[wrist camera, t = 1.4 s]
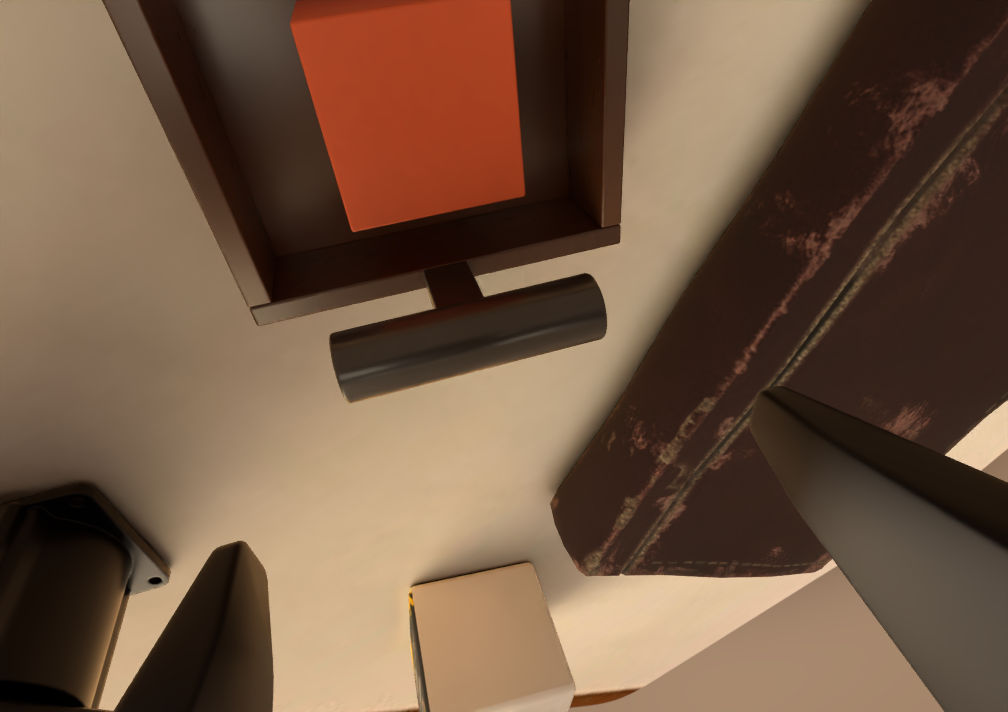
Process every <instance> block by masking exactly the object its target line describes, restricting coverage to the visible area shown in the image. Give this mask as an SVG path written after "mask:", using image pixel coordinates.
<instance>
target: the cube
mask: <svg viewBox="0 0 1008 712" xmlns="http://www.w3.org/2000/svg"><path fill="white" fill-rule="evenodd" d="M290 27H291V30H292V34H293V37H294V40H295V44H296V47H297V50H298V54H299V57H300V60H301V64H302V67H303V70H304V74H305V77H306V80H307V84H308V87H309V90H310V94H311V97H312V100H313V104H314V107H315V110H316V114H317V117H318V120H319V124H320V127H321V130H322V134H323V137H324V140H325V144H326V147H327V150H328V154H329V157H330V160H331V164H332V167H333V170H334V174H335V177H336V181H337V184H338V187H339V191H340V194H341V197H342V201H343V204H344V207H345V211H346V214H347V217H348V221H349V224H350V227H351V230H352V231H353V232H356V231H361V230H366V229H370V228H375V227H380V226H385V225H389V224H394V223H399V222H404V221H408V220H413V219H418V218H423V217H427V216H432V215H437V214H442V213H446V212H451V211H456V210H461V209H466V208H470V207H475V206H480V205H485V204H489V203H494V202H499V201H504V200H508V199H513V198H518V197H523V196H525V182H524V169H523V156H522V143H521V130H520V116H519V103H518V90H517V77H516V64H515V51H514V38H513V25H512V12H511V0H298V1H296V2H295V6H294V10H293V14H292V18H291V21H290Z"/></svg>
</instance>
